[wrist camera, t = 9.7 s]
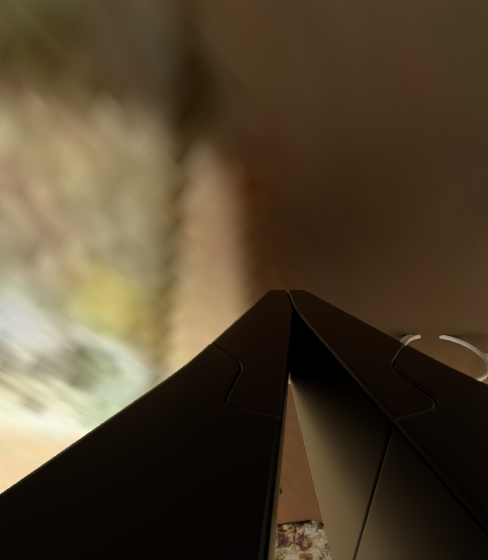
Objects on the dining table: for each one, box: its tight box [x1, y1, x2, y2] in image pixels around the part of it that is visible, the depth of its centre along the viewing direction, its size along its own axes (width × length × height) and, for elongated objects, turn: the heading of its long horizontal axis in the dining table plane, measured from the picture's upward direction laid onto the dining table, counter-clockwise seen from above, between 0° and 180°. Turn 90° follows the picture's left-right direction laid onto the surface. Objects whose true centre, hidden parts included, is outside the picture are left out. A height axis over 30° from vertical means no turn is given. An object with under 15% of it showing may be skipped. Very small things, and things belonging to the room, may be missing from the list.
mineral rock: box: [274, 521, 332, 560], centre depth 39 cm, size 11×4×8 cm
